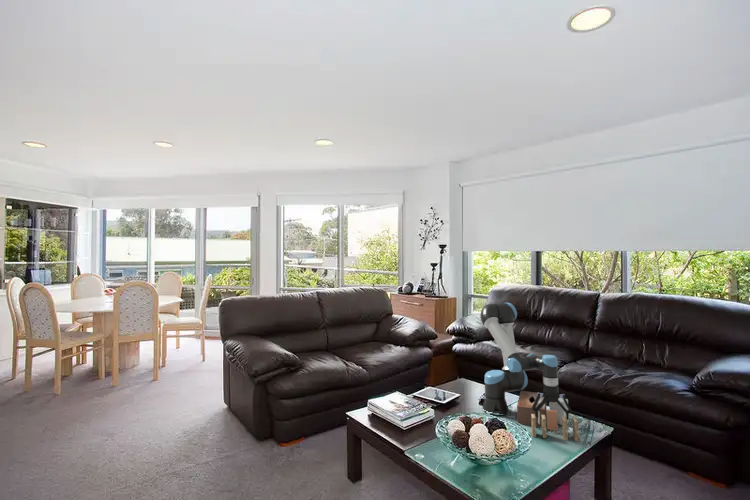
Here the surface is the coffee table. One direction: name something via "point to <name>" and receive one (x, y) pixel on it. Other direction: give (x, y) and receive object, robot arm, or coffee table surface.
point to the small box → (559, 409)
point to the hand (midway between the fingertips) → (552, 424)
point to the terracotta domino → (551, 419)
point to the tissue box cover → (529, 408)
